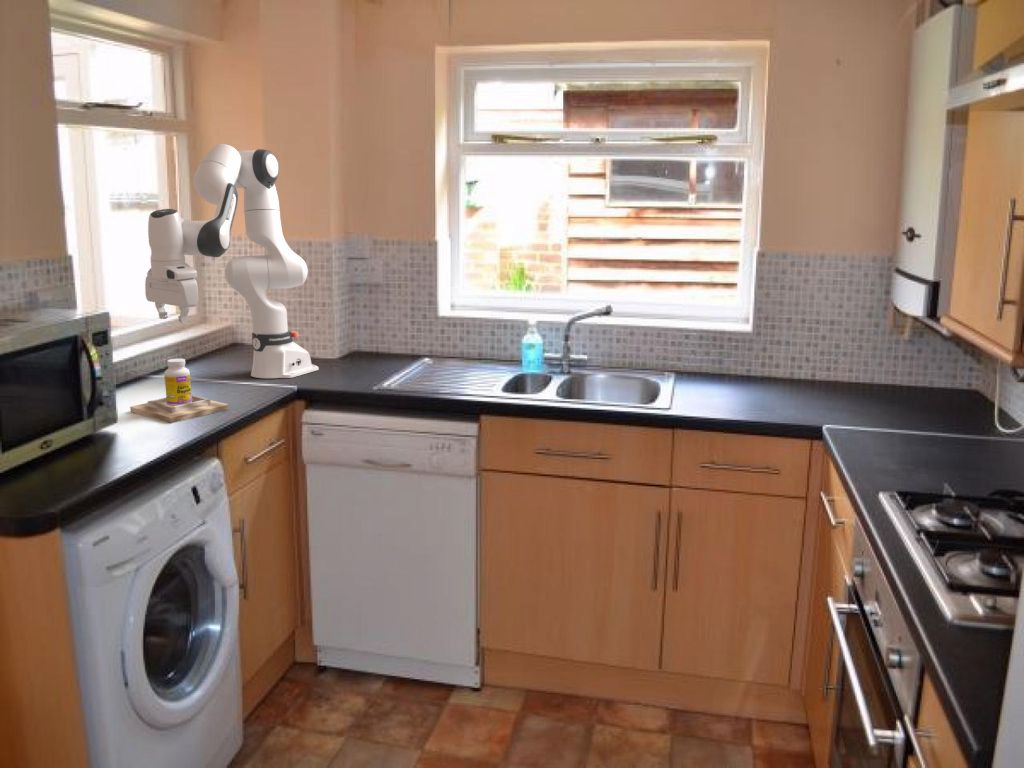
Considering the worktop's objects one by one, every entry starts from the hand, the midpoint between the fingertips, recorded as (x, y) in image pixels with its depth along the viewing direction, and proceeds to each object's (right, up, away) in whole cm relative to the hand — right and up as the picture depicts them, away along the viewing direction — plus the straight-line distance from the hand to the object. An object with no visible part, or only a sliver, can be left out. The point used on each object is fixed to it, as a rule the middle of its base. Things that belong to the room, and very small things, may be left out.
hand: (173, 320), depth 254 cm
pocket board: (+1, -25, +3) cm, 25 cm away
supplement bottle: (+1, -24, +3) cm, 24 cm away
